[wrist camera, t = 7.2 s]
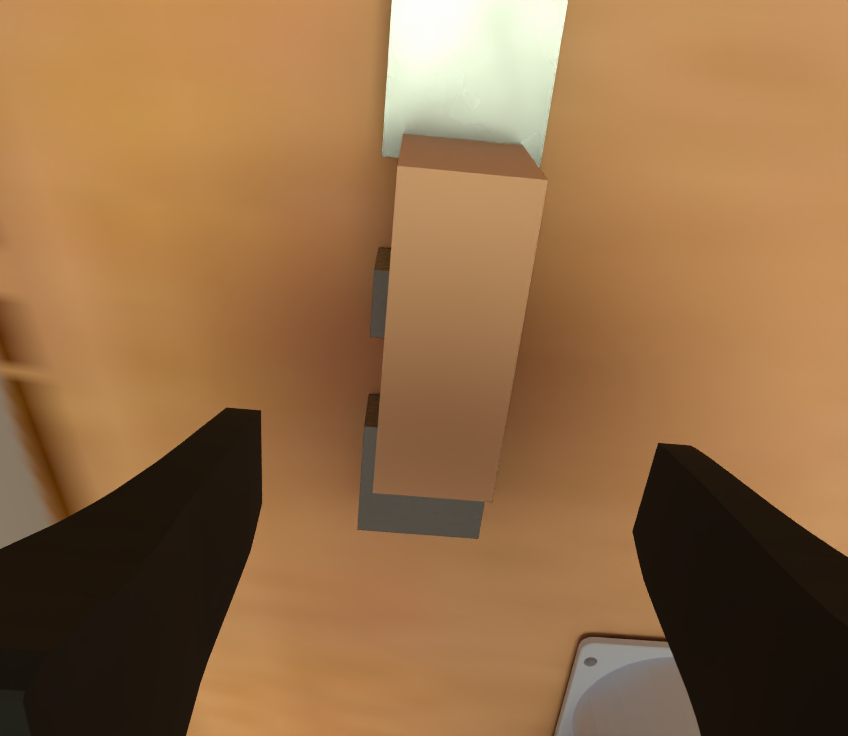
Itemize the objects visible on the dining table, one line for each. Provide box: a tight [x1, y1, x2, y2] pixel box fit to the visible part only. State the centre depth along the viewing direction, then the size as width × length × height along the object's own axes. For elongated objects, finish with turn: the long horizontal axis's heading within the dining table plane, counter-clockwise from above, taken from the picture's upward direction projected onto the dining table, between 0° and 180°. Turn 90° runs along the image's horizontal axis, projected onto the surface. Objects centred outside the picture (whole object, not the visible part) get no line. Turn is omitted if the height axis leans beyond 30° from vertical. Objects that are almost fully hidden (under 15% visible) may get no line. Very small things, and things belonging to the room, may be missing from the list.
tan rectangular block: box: [373, 133, 548, 502], centre depth 18 cm, size 8×3×6 cm, turn 175°
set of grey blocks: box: [357, 0, 568, 539], centre depth 20 cm, size 16×4×2 cm, turn 175°
